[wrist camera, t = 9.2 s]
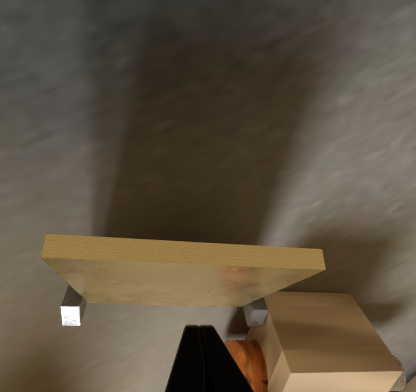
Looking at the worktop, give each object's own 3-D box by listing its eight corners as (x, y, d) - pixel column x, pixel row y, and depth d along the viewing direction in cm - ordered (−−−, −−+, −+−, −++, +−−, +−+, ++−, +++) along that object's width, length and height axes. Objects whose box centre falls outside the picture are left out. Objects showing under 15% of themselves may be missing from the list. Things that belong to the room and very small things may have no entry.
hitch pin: (365, 362, 27) (399, 419, 23) (218, 364, 24) (227, 428, 20) (387, 327, 25) (428, 384, 21) (228, 326, 22) (241, 389, 18)
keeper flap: (240, 294, 22) (241, 306, 21) (91, 290, 20) (89, 303, 20) (322, 249, 12) (325, 269, 12) (46, 233, 10) (40, 257, 10)
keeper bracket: (254, 303, 23) (261, 326, 21) (71, 299, 20) (62, 325, 19) (259, 287, 22) (267, 310, 20) (70, 281, 20) (60, 306, 18)
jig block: (309, 374, 28) (342, 454, 23) (234, 375, 27) (250, 461, 21) (350, 293, 23) (403, 371, 18) (261, 290, 22) (290, 373, 17)
